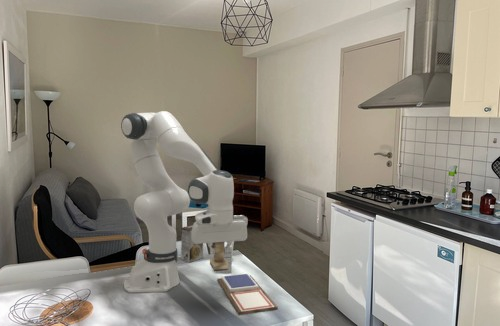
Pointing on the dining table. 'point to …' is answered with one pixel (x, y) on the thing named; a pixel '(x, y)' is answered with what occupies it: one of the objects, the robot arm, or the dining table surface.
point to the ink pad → (239, 282)
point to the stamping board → (245, 291)
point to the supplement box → (227, 259)
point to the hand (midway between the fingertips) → (219, 253)
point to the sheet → (251, 300)
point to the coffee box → (190, 246)
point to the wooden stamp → (219, 258)
